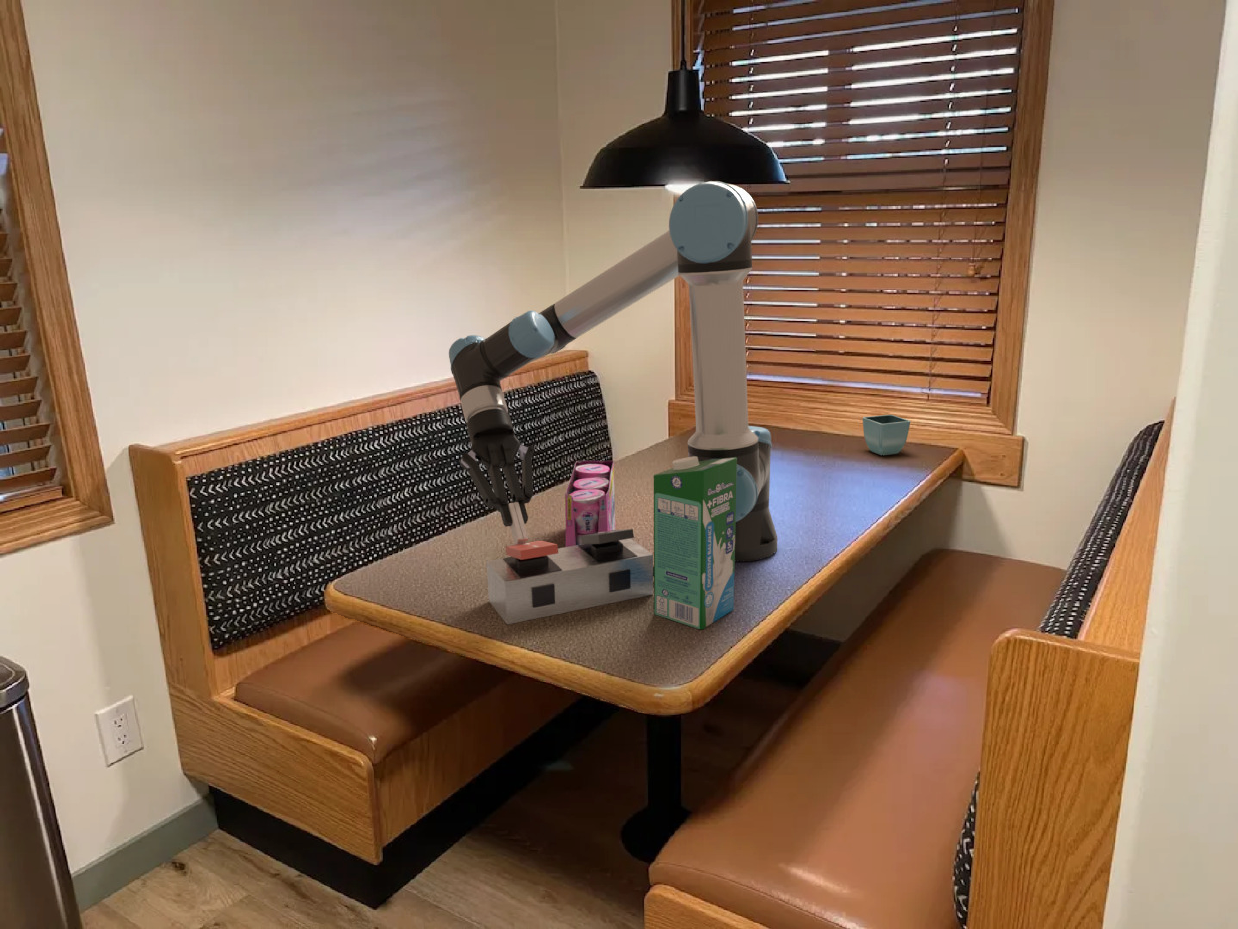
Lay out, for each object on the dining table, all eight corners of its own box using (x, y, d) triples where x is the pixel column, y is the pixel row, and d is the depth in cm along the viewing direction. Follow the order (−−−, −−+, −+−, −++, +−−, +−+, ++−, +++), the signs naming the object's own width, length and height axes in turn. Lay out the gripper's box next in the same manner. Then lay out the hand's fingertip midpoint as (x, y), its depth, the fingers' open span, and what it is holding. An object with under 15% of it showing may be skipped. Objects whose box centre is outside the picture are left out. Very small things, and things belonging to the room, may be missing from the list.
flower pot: (859, 450, 234) (861, 416, 231) (888, 447, 236) (891, 414, 234) (878, 458, 225) (880, 423, 223) (908, 455, 228) (911, 421, 226)
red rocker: (541, 548, 146) (540, 540, 146) (558, 553, 139) (557, 543, 139) (506, 555, 144) (505, 546, 144) (521, 559, 137) (520, 550, 136)
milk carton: (686, 595, 147) (688, 447, 140) (734, 610, 141) (737, 456, 134) (653, 614, 140) (652, 459, 133) (701, 630, 135) (703, 469, 128)
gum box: (609, 571, 158) (607, 497, 154) (564, 570, 158) (561, 497, 154) (616, 525, 181) (614, 460, 177) (576, 525, 181) (574, 460, 177)
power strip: (664, 567, 159) (664, 523, 156) (691, 587, 150) (691, 541, 148) (488, 601, 146) (486, 554, 143) (507, 625, 137) (505, 575, 135)
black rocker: (614, 538, 151) (613, 529, 151) (634, 537, 144) (632, 528, 144) (581, 544, 149) (580, 535, 149) (599, 543, 142) (598, 534, 142)
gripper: (519, 425, 160) (554, 545, 151) (446, 433, 155) (478, 558, 145) (528, 403, 154) (565, 526, 145) (453, 410, 149) (486, 538, 139)
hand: (521, 541), depth 145 cm, fingers closed
